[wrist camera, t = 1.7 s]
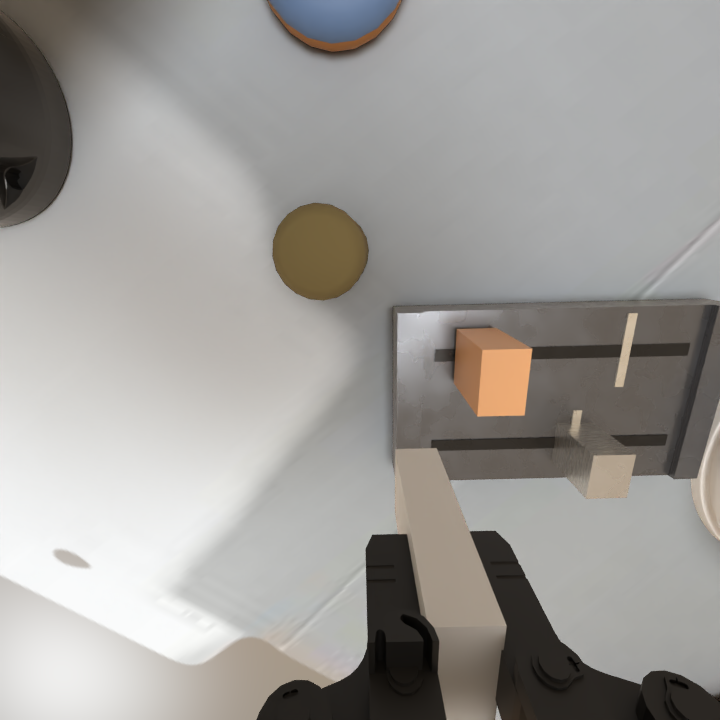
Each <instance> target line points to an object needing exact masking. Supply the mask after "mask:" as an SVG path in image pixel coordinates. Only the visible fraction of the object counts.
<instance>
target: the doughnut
mask: <svg viewBox="0 0 720 720" xmlns="http://www.w3.org/2000/svg"><path fill="white" fill-rule="evenodd" d="M267 1H268V3H269V5H270V8H271V9H272V11H273V12H274V13H275V15H276V16H277V17H278V18H279V20H280V21H281V22H282V23H283V25H284V26H285V27H286V28H287V30H288V31H289V32H290V33H291V34H293V35H294V36H296V37H297V38H299V39H300V40H302V41H303V42H305V43H306V44H308V45H309V46H311V47H315V48H319V49H323V50H327V51H332V52H335V51H342V50H349V49H355V48H357V47H359V46H361V45H363V44H365V43H366V42H368V41H370V40H372V39H374V38H376V37H377V35H378V34H379V33H380V32H381V31H382V30H383V29H384V28H385V27H386V26H387V25H388V23H389V22H390V21H391V20H392V19H393V17H394V15H395V13H396V11H397V9H398V7H399V5H400V3H401V1H402V0H267Z"/></svg>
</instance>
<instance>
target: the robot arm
mask: <svg viewBox="0 0 720 720" xmlns="http://www.w3.org/2000/svg"><path fill="white" fill-rule="evenodd" d="M70 155H71V130H70V122H69V116H68V112H67V108H66V104H65V101H64V98H63V94H62V92H61V89H60V87H59V84H58V82H57V80H56V78H55V76H54V74H53V72H52V70H51V68H50V66H49V65H48V63H47V61H46V60H45V58H44V57H43V55H42V54H41V52H40V51H39V49H38V48H37V47H36V45H35V44H34V43H33V42H32V40H31V39H30V38H29V37H28V36H27V35H26V33H25V32H24V31H23V30H22V29H21V28H20V27H19V26H18V25H17V24H16V23H15V22H13V21H12V20H11V19H10V18H9V17H8V16H6V15H5V14H4V13H3V12H1V11H0V227H4V226H11V225H15V224H18V223H21V222H24V221H26V220H28V219H30V218H32V217H34V216H36V215H37V214H39V213H40V212H41V211H42V210H44V209H45V208H46V207H47V206H48V205H49V204H50V203H51V202H52V200H53V199H54V198H55V196H56V195H57V193H58V192H59V190H60V188H61V186H62V184H63V182H64V180H65V177H66V174H67V171H68V167H69V162H70ZM395 515H396V523H397V530H398V534H386V535H372V537H371V539H370V541H369V543H368V545H367V547H366V585H367V626H368V642H367V650H366V653H365V655H364V658H363V660H362V662H361V663H360V665H359V666H358V668H357V669H356V670H355V671H354V672H353V673H352V674H351V675H349V676H348V677H346V678H344V679H342V680H341V681H338V682H336V683H334V684H331V685H329V686H327V687H324V688H322V689H321V688H320V687H319V686H318V685H316V684H314V683H312V682H310V681H308V680H294V681H291V682H289V683H286V684H284V685H282V686H280V687H279V688H278V689H277V690H276V691H275V692H273V693H272V694H271V695H270V696H269V697H268V699H267V701H266V702H265V704H264V706H263V707H262V709H261V711H260V712H259V715H258V718H257V720H495V716H496V708H497V706H498V709H499V713H500V716H501V719H502V720H720V703H719V702H718V701H717V700H716V699H715V698H714V697H713V696H711V695H710V694H709V693H708V692H707V691H705V690H704V689H703V688H702V687H701V686H699V685H697V684H696V683H694V682H692V681H690V680H688V679H687V678H685V677H683V676H681V675H678V674H675V673H671V672H668V671H651V672H650V673H649V674H648V675H646V676H645V677H644V678H643V681H642V684H641V685H640V684H637V683H634V682H631V681H627V680H624V679H621V678H618V677H614V676H611V675H608V674H605V673H602V672H600V671H597V670H595V669H593V668H591V667H589V666H588V665H586V664H584V663H583V662H582V661H581V659H580V658H579V656H578V655H577V654H576V653H574V652H573V651H572V650H571V649H570V648H569V647H567V646H566V645H565V644H563V643H561V642H560V640H559V639H558V637H557V635H556V634H555V632H554V630H553V628H552V626H551V624H550V622H549V620H548V618H547V616H546V615H545V613H544V611H543V609H542V607H541V605H540V603H539V601H538V599H537V597H536V595H535V593H534V591H533V589H532V587H531V585H530V583H529V581H528V579H526V577H525V574H524V572H523V570H522V568H521V566H520V564H518V560H517V558H516V556H515V554H514V552H513V550H512V548H511V546H510V544H508V543H507V542H506V541H505V540H504V539H503V538H502V537H501V536H500V535H499V534H498V533H497V532H496V531H469V529H468V526H467V524H466V521H465V519H464V516H463V514H462V511H461V509H460V506H459V504H458V501H457V499H456V496H455V493H454V491H453V488H452V486H451V483H450V481H449V478H448V476H447V473H446V471H445V468H444V466H443V463H442V460H441V458H440V455H439V453H438V450H437V448H420V449H395Z"/></svg>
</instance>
